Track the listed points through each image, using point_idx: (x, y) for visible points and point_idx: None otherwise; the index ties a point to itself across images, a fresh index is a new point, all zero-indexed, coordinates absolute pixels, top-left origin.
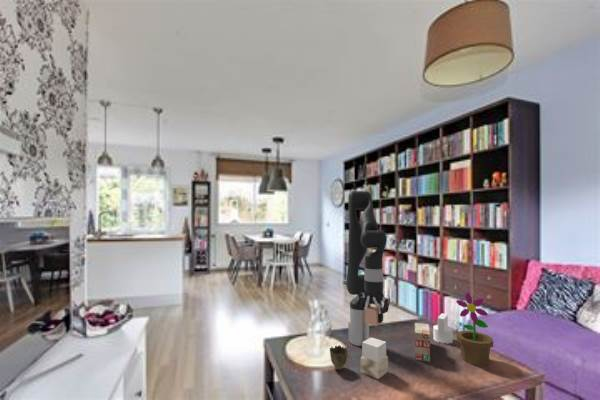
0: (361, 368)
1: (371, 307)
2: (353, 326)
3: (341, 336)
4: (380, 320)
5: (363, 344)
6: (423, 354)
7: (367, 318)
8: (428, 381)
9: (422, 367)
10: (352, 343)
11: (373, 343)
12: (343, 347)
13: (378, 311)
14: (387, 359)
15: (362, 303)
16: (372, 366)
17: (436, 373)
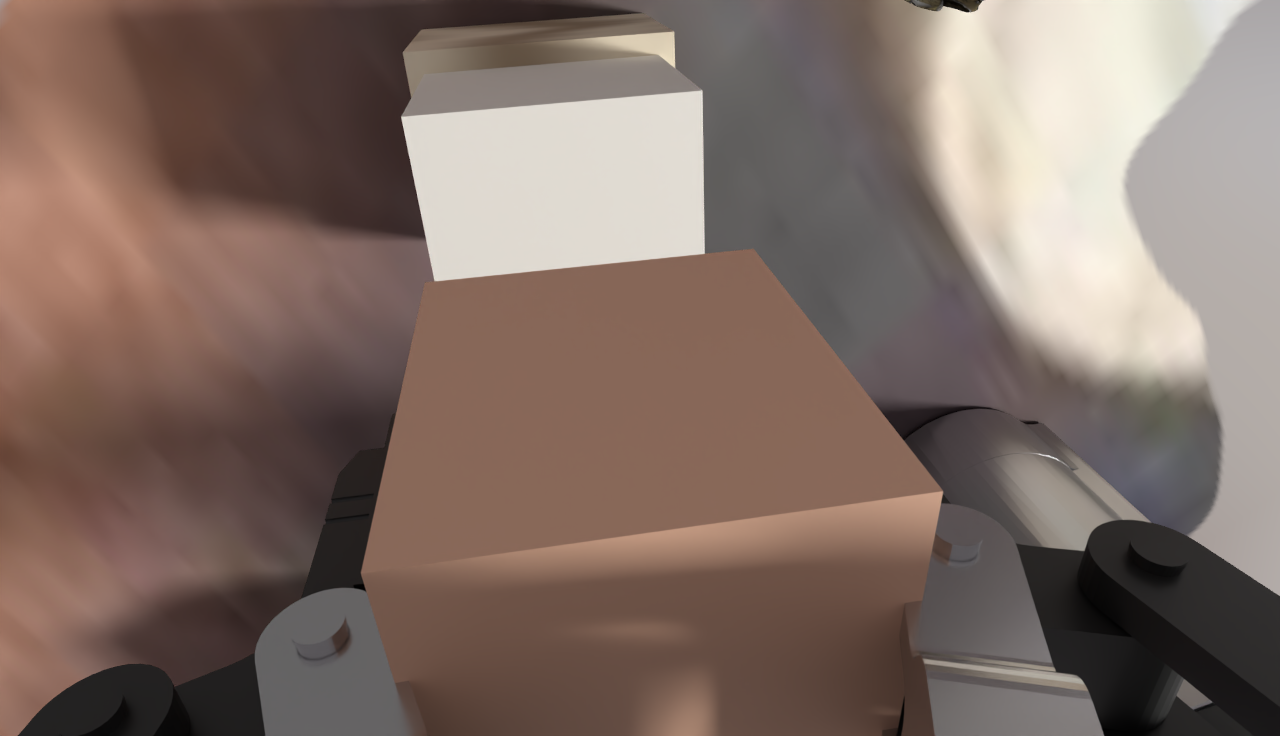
0: (637, 18)
1: (785, 710)
2: (1088, 521)
3: (1137, 450)
4: (371, 469)
5: (672, 87)
6: None
7: (721, 312)
8: (106, 367)
9: (315, 517)
10: (992, 412)
11: (546, 195)
12: (961, 10)
13: (372, 648)
14: None
15: (1224, 670)
16: (489, 38)
17: (175, 520)
